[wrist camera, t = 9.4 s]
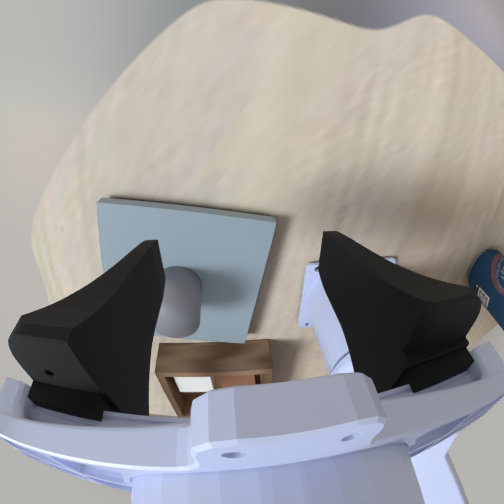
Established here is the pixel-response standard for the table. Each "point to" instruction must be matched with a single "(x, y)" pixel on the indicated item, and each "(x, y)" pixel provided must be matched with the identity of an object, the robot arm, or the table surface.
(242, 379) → the terracotta block
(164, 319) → the lid
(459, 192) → the table surface
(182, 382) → the off-white block
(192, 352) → the storage box
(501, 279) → the soda can
